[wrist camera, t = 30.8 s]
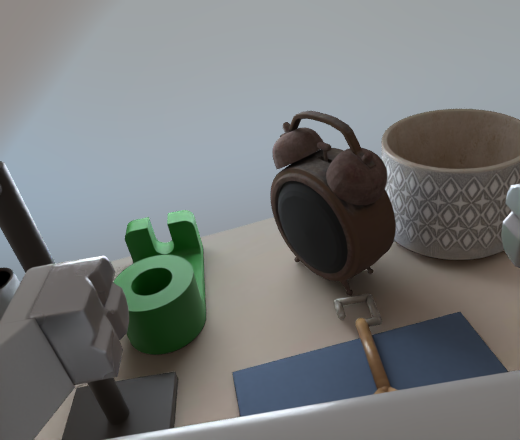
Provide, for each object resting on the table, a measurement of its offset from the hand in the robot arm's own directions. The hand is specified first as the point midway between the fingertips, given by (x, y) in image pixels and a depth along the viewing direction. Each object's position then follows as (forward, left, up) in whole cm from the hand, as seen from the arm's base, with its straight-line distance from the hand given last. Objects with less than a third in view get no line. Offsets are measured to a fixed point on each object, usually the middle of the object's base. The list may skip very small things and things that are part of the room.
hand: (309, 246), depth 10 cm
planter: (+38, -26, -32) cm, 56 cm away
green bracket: (+38, +10, -32) cm, 51 cm away
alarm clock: (+35, -10, -32) cm, 49 cm away
